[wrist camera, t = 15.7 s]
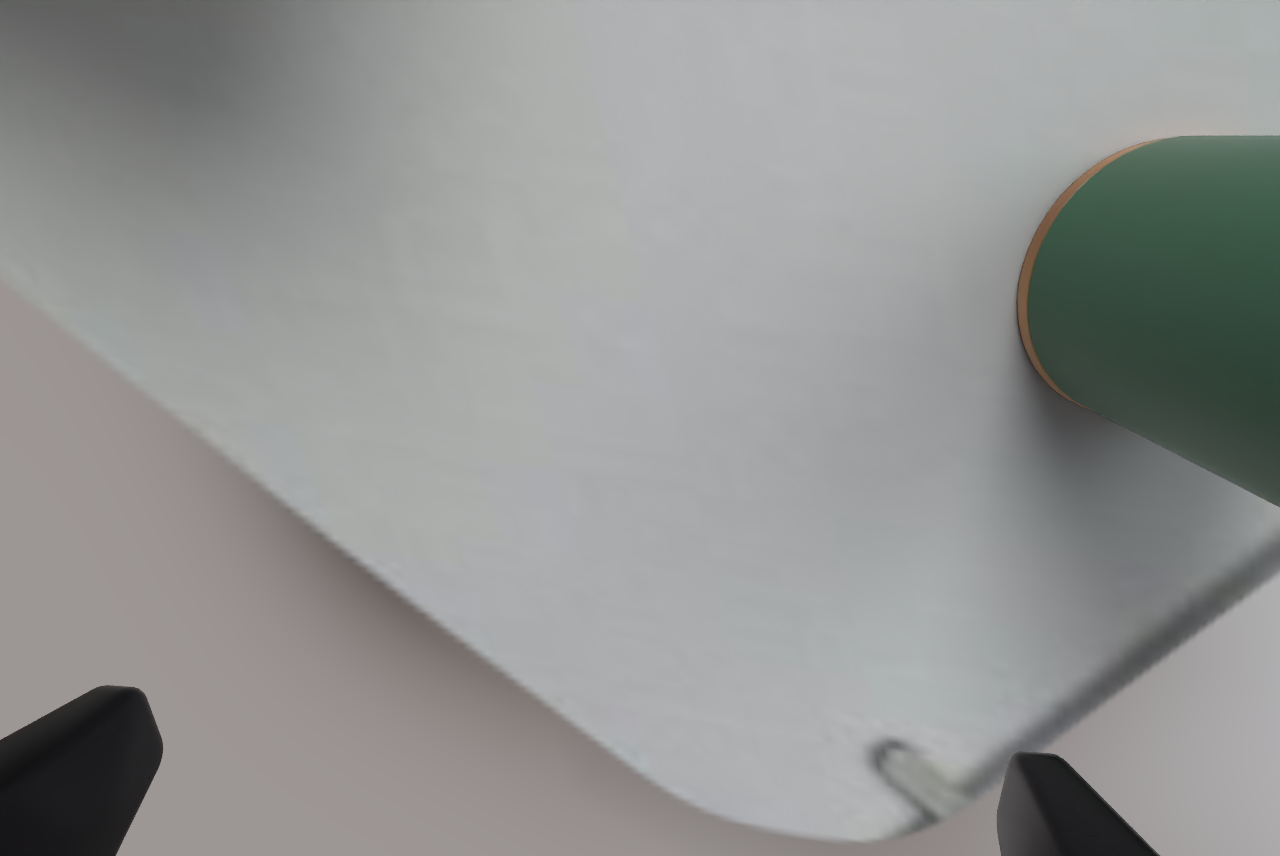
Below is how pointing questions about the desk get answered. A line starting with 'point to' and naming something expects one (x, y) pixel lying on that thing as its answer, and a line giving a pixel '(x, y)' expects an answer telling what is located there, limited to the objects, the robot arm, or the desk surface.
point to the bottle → (1173, 301)
